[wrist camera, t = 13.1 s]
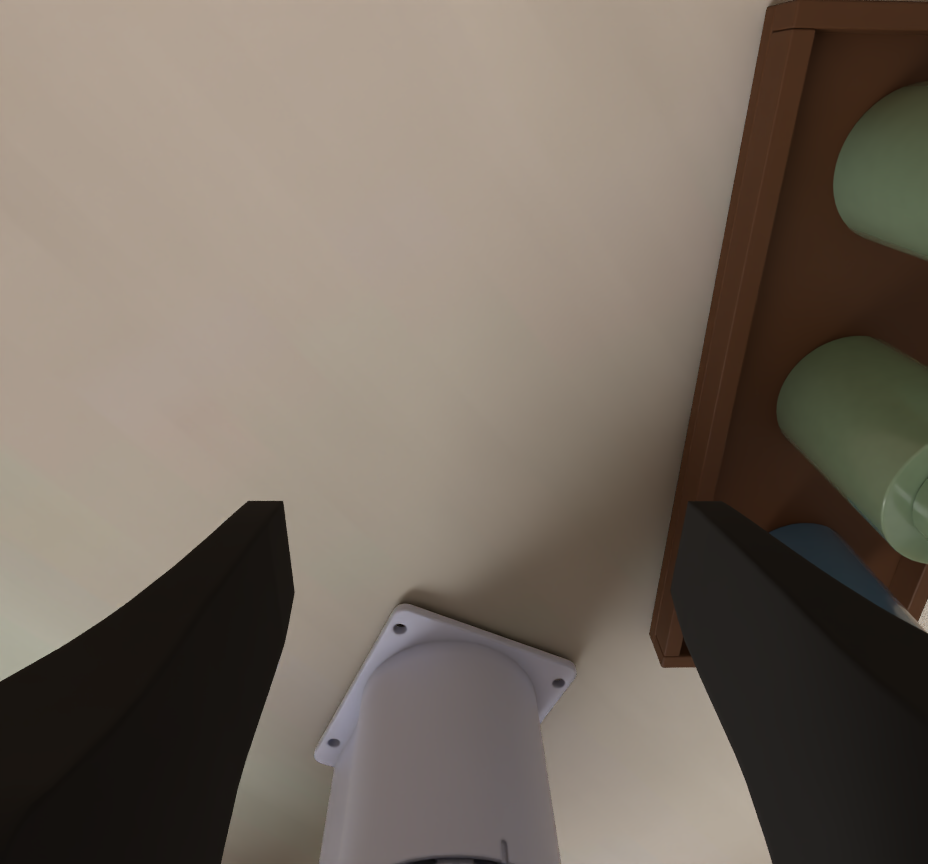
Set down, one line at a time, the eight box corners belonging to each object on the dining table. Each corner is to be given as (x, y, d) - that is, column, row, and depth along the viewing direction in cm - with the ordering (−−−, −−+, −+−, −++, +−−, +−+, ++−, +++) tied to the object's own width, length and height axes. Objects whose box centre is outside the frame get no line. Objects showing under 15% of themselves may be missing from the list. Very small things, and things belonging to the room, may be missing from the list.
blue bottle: (832, 612, 26) (1004, 845, 18) (724, 612, 26) (850, 848, 18) (863, 522, 24) (1071, 738, 16) (747, 522, 24) (899, 740, 16)
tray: (873, 632, 27) (900, 666, 26) (648, 634, 27) (661, 668, 26) (1112, 14, 18) (1179, 7, 16) (765, 6, 17) (798, -2, 16)
